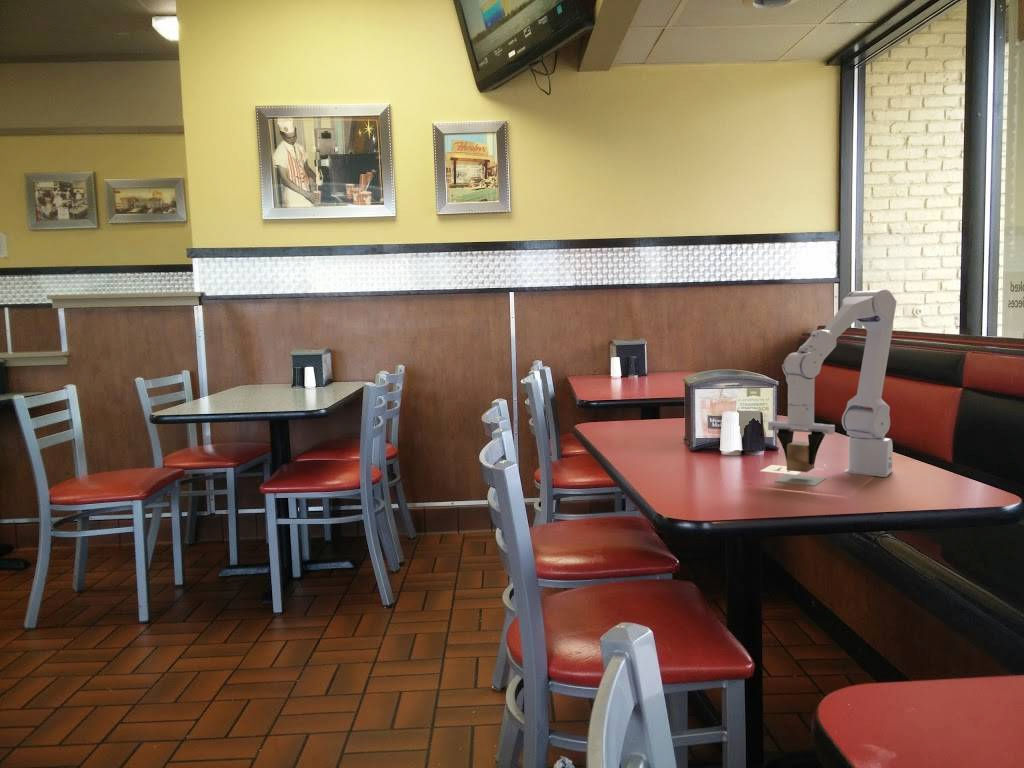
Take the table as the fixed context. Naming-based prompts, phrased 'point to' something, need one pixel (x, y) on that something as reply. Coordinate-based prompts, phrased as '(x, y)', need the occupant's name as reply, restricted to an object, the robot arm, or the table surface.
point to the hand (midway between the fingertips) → (800, 462)
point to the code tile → (779, 470)
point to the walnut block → (798, 457)
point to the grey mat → (800, 480)
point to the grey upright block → (747, 417)
